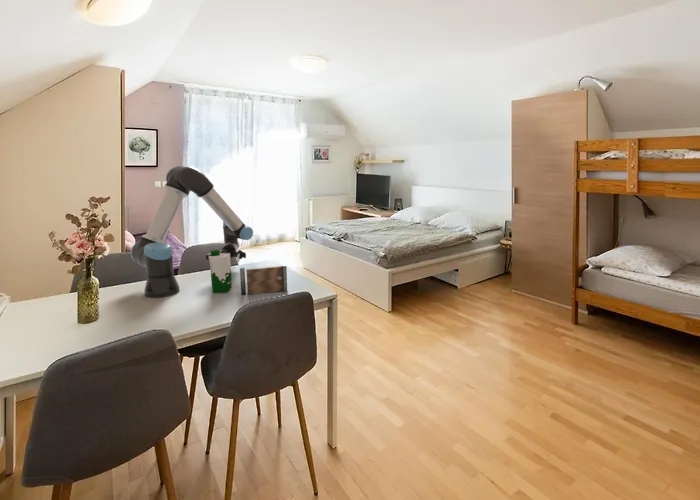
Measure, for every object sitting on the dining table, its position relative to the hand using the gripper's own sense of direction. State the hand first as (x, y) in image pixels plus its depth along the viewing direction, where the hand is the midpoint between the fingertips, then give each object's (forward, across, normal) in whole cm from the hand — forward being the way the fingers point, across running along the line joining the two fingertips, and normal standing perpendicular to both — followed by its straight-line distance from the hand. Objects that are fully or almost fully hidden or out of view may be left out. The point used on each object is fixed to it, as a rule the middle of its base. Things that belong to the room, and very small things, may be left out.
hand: (224, 260), depth 202 cm
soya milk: (+10, 0, -13) cm, 16 cm away
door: (+16, -21, -13) cm, 30 cm away
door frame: (+17, -20, -13) cm, 29 cm away
